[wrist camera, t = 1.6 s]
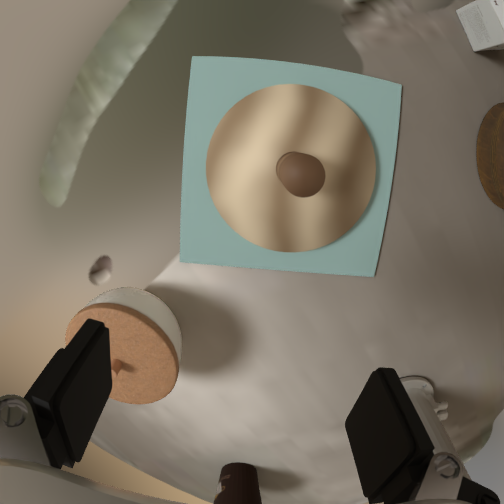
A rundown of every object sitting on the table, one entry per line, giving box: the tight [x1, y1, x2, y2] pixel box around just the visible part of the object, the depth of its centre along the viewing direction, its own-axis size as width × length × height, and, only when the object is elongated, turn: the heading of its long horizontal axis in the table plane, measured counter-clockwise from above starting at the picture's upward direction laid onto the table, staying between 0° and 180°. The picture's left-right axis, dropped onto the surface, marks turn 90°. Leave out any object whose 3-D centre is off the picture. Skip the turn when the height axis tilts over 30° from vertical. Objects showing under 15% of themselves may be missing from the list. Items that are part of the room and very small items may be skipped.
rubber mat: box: [180, 56, 402, 277], centre depth 32 cm, size 22×22×1 cm
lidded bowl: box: [65, 287, 182, 404], centre depth 33 cm, size 13×13×11 cm
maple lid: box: [206, 84, 376, 252], centre depth 28 cm, size 17×17×7 cm
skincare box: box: [456, 0, 504, 52], centre depth 22 cm, size 6×6×7 cm
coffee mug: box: [214, 463, 262, 504], centre depth 45 cm, size 12×9×10 cm
